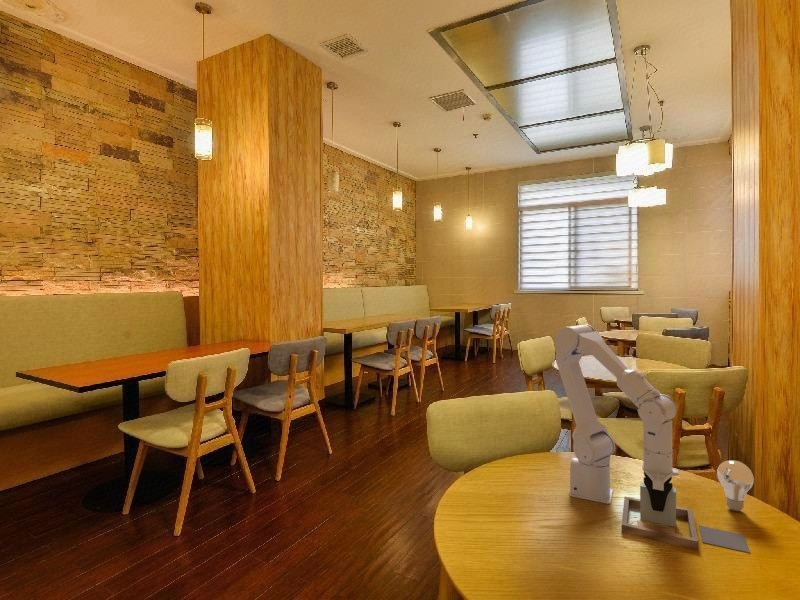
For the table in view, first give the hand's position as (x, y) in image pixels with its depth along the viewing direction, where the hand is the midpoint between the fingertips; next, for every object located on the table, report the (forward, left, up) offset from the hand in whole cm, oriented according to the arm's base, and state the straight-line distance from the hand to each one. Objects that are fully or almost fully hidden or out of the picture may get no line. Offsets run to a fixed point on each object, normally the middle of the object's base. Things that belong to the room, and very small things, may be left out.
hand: (657, 507), depth 101 cm
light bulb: (+16, +13, -3) cm, 21 cm away
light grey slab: (0, 0, -3) cm, 3 cm away
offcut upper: (0, -6, -3) cm, 6 cm away
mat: (+12, -2, -3) cm, 13 cm away
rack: (0, -2, -3) cm, 4 cm away
